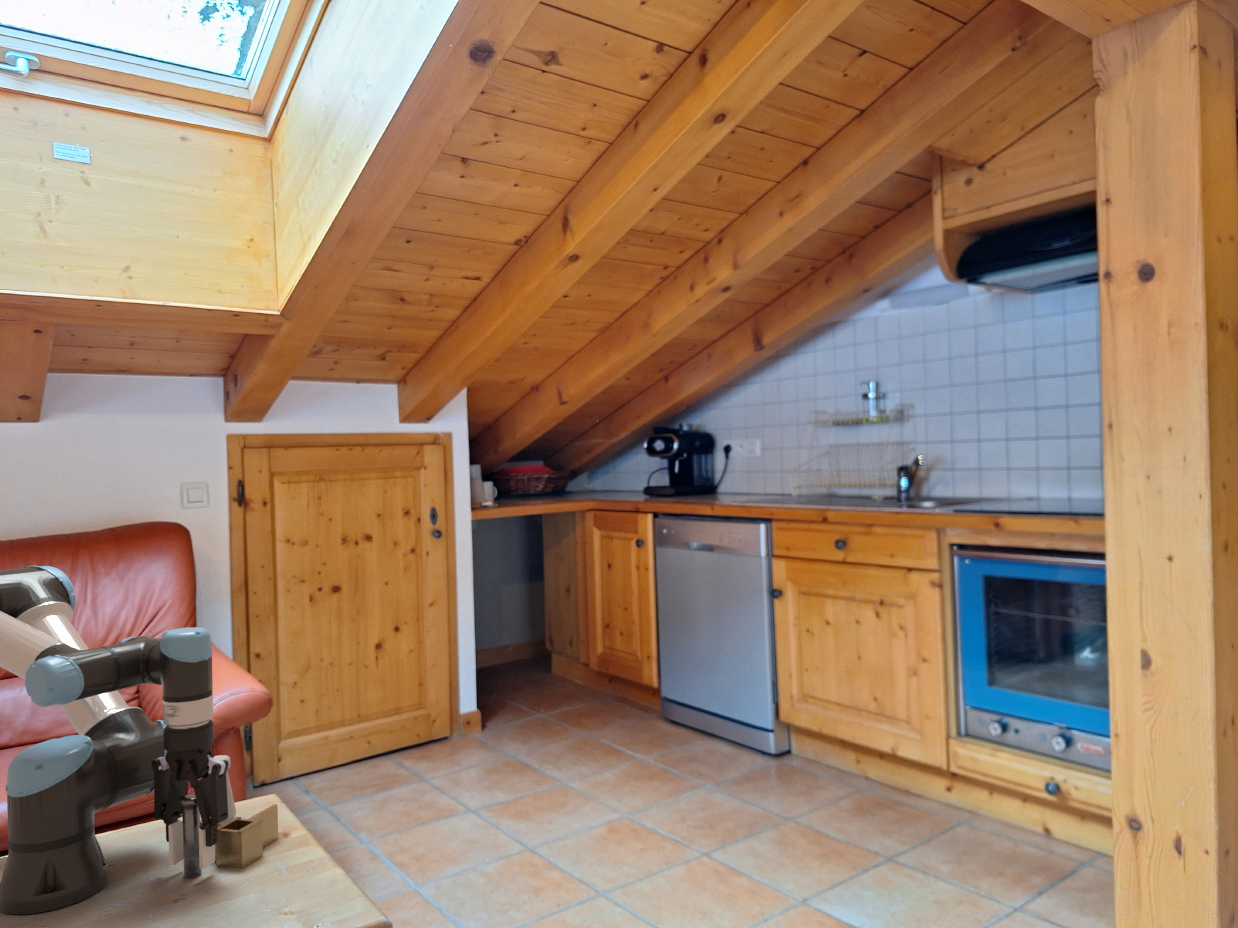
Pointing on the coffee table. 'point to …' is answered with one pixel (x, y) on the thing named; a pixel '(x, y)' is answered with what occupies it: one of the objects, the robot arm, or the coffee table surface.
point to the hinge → (245, 838)
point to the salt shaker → (228, 790)
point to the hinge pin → (190, 835)
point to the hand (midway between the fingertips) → (192, 862)
